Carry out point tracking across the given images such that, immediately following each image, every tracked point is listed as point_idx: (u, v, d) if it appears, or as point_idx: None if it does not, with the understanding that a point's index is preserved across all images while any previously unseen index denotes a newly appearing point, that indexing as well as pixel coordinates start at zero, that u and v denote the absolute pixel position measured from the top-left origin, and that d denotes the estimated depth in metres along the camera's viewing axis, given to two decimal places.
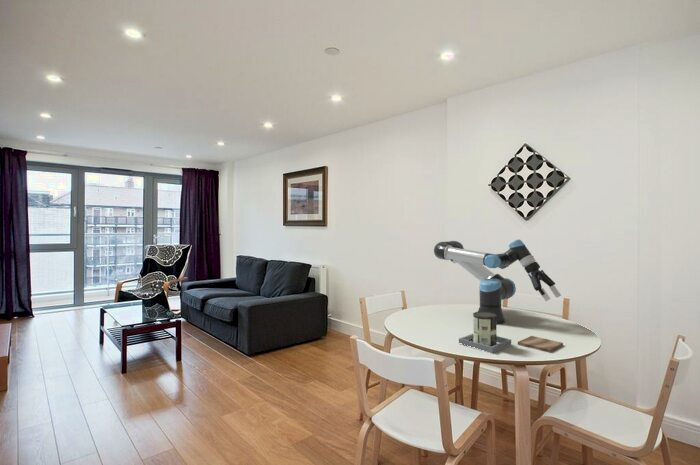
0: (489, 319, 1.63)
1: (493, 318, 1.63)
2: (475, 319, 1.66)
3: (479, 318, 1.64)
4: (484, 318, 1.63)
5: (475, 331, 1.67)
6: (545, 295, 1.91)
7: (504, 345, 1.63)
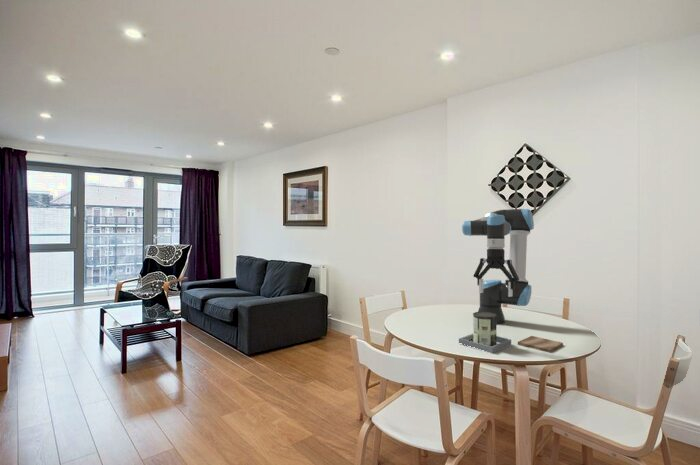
0: (489, 319, 1.63)
1: (493, 318, 1.63)
2: (475, 319, 1.66)
3: (479, 318, 1.64)
4: (484, 318, 1.63)
5: (475, 331, 1.67)
6: None
7: (504, 345, 1.63)
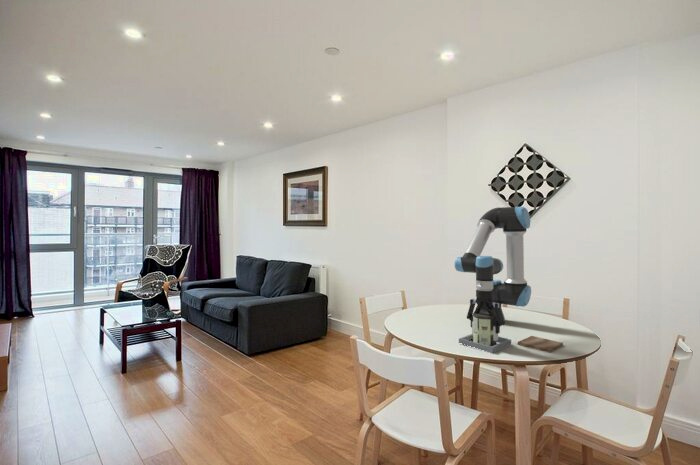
0: (489, 319, 1.63)
1: None
2: (475, 319, 1.66)
3: (479, 318, 1.64)
4: (484, 318, 1.63)
5: (475, 331, 1.67)
6: None
7: (504, 345, 1.63)
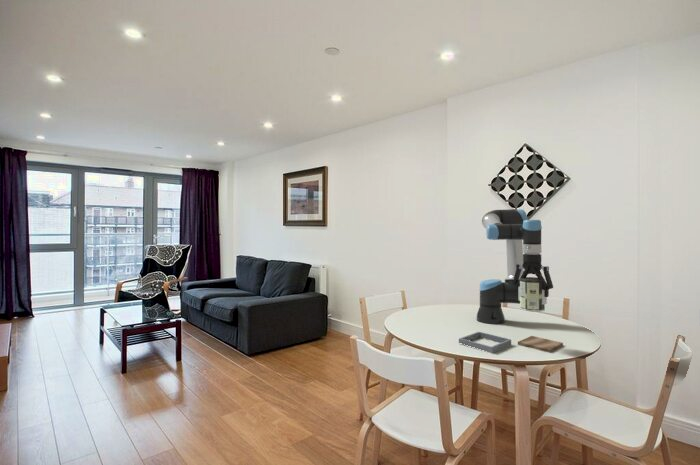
0: (538, 282, 1.61)
1: None
2: (522, 283, 1.65)
3: (527, 282, 1.62)
4: (532, 281, 1.61)
5: (522, 295, 1.65)
6: None
7: (504, 345, 1.63)
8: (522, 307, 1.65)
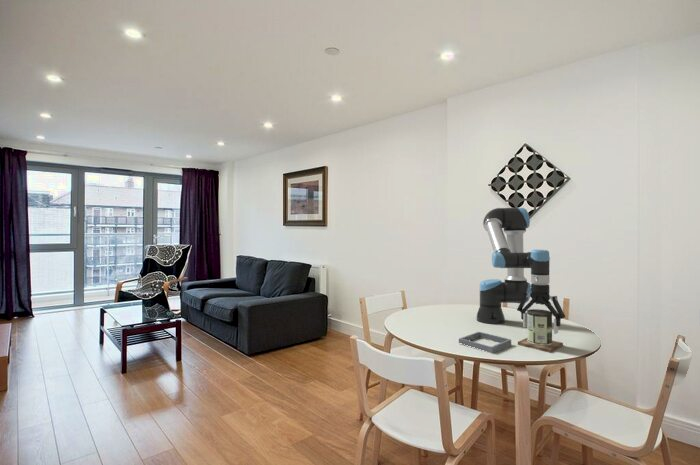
0: (546, 316, 1.61)
1: (550, 316, 1.62)
2: (530, 317, 1.65)
3: (535, 315, 1.63)
4: (540, 315, 1.61)
5: (530, 329, 1.65)
6: None
7: (504, 345, 1.63)
8: (530, 340, 1.65)
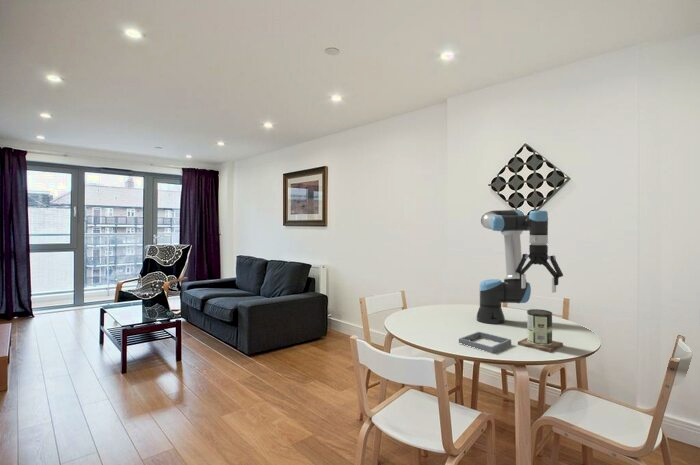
0: (546, 316, 1.61)
1: (550, 316, 1.62)
2: (530, 316, 1.65)
3: (535, 315, 1.63)
4: (540, 315, 1.61)
5: (530, 329, 1.65)
6: None
7: (504, 345, 1.63)
8: (530, 340, 1.65)
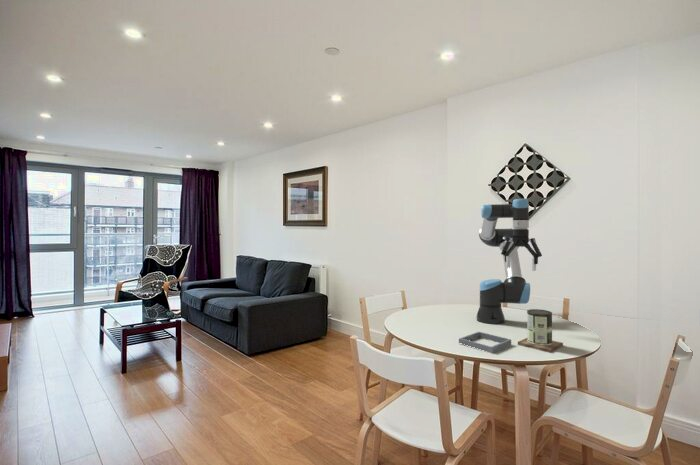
0: (546, 316, 1.61)
1: (550, 316, 1.62)
2: (530, 316, 1.65)
3: (535, 315, 1.63)
4: (540, 315, 1.62)
5: (530, 329, 1.65)
6: None
7: (504, 345, 1.63)
8: (530, 340, 1.65)
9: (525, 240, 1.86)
